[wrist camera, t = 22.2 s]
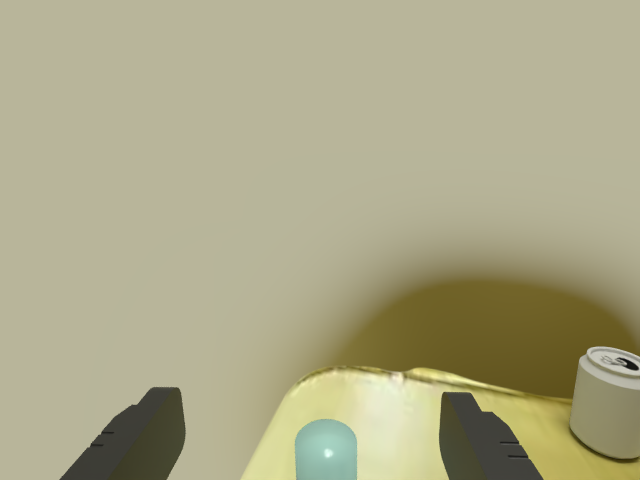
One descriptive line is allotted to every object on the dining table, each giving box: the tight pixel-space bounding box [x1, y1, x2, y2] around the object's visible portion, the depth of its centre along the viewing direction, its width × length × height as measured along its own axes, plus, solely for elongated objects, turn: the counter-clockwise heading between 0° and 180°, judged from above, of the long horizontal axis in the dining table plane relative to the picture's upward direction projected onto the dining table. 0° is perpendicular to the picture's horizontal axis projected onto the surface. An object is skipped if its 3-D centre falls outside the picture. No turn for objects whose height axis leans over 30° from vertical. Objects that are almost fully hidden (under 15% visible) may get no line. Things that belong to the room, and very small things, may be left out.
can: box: [569, 347, 640, 459], centre depth 44 cm, size 8×8×12 cm
